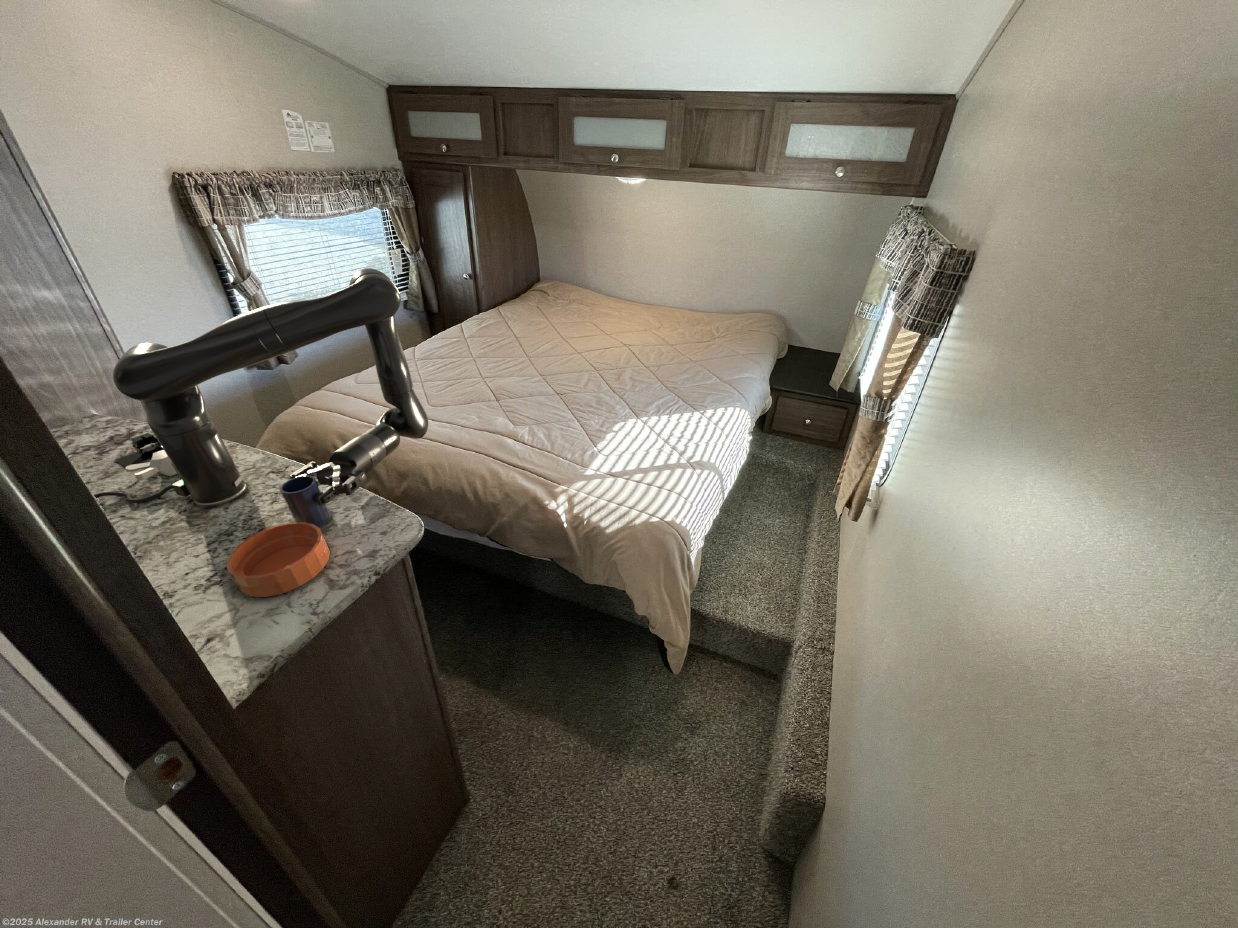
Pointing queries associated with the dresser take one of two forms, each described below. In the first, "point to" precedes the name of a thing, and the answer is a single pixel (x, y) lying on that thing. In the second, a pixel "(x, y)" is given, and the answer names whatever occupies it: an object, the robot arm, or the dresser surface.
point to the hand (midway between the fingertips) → (300, 498)
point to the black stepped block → (141, 450)
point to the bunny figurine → (153, 466)
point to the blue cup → (304, 500)
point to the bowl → (278, 559)
